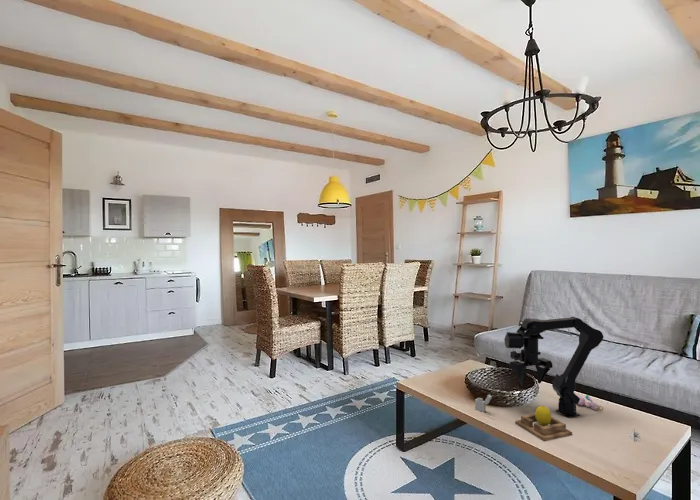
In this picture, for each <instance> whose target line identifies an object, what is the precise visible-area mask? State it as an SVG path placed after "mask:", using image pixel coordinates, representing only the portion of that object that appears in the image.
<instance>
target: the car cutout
mask: <svg viewBox="0 0 700 500" xmlns="http://www.w3.org/2000/svg"><path fill="white" fill-rule="evenodd" d="M628 434H629V436H628V440H632V439H633V441H636V440H637V441H636V442H640V438H639V437H640V435H641V434H640V433H639V432H637V431H634V430H633V431H632V430H630V431H629V430H628ZM632 434H634V435H632ZM636 435H639V436H636Z"/></svg>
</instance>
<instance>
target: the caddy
mask: <svg viewBox="0 0 700 500" xmlns="http://www.w3.org/2000/svg"><path fill="white" fill-rule="evenodd" d="M514 424H515V425H517V426H518V427H520V428H522V429H524V431H527V433H530V434H531V435H533V436H535V437H536V438H538V439H539V440H541V441H542V442H545V441H546V442H547V441H551V440H555V439H559V438H564V437H565V438H566V437H569V436H573V432H572V431H571V430H569V429H567V425H566V423H564V422H562V421H560V420H558V419H556V418H555V417H552V416H551V422H550V423H549V424H548V425H545V426H542V425H541V424H540V423H538V422H537V420H536V417H535V412H534V413H531V414H530V413H529V414H524V415H520V419H519V420H514Z"/></svg>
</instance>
